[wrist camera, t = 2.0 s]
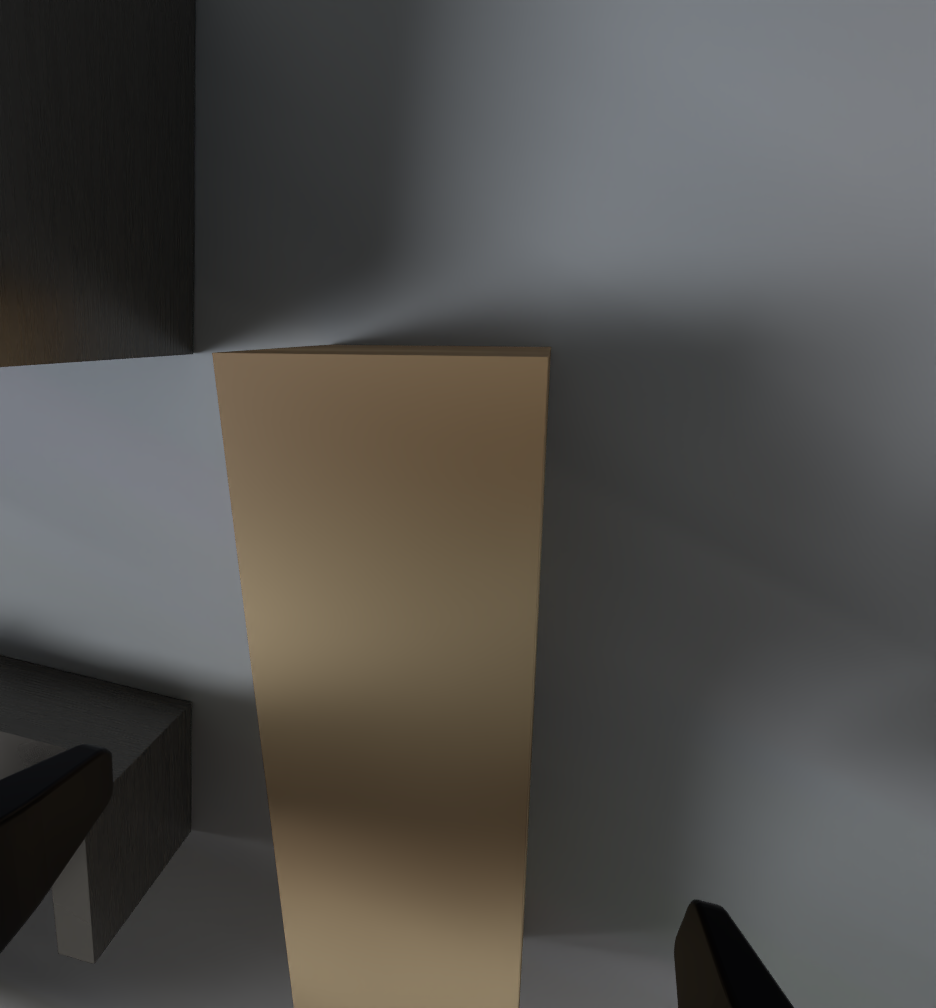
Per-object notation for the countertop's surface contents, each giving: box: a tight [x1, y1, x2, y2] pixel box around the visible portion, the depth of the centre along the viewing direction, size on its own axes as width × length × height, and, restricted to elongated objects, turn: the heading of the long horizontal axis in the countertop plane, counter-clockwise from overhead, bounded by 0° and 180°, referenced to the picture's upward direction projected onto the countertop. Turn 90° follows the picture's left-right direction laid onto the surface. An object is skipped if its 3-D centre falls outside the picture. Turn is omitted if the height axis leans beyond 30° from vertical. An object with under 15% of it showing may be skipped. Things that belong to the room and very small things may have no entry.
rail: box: [212, 345, 551, 1008], centre depth 10 cm, size 14×4×4 cm, turn 0°
